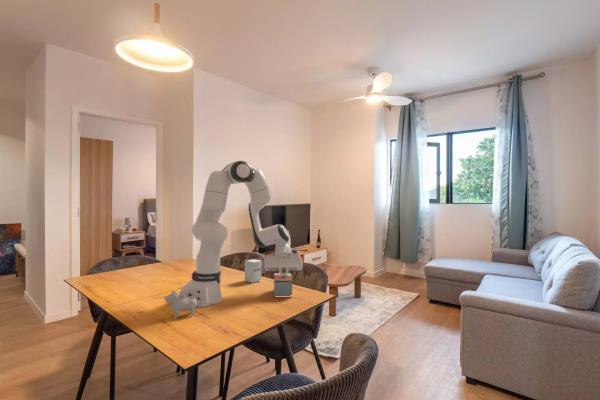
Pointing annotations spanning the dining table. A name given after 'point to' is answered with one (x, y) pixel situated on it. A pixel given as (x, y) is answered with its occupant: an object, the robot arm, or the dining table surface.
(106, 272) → the dining table surface
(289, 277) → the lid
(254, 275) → the white cylinder
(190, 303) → the grey dog figurine
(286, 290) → the box
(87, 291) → the dining table surface
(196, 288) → the robot arm
